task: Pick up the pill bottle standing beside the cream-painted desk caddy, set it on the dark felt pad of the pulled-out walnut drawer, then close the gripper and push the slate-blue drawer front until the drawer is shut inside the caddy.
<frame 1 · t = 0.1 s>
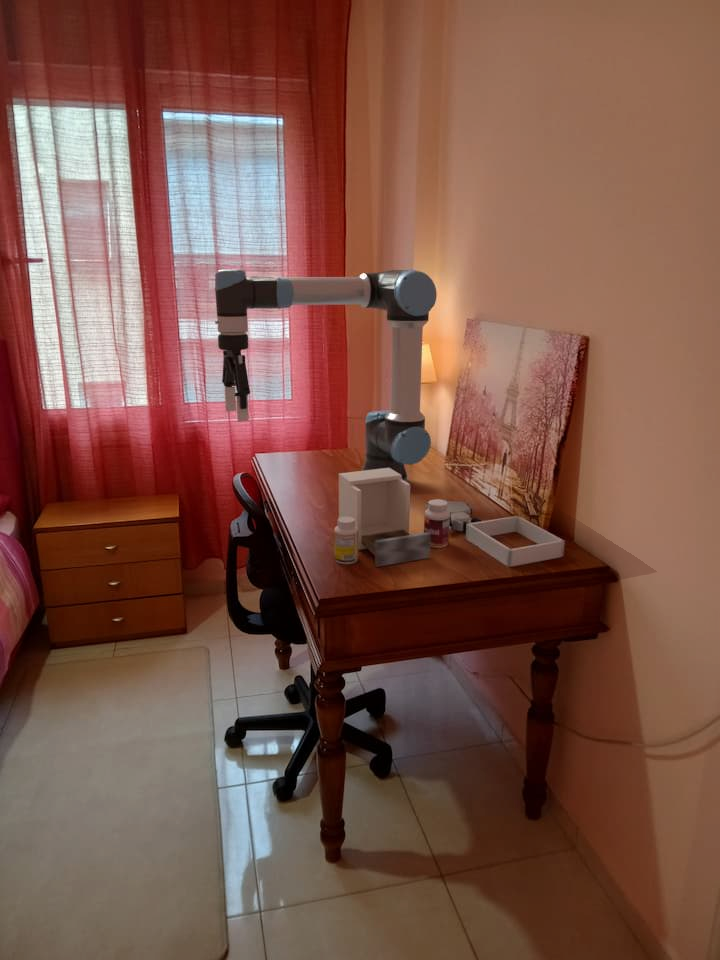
hand: (236, 416, 179), 28 cm above the table, fingers open, 13 cm apart
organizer: (512, 547, 167), on the table
pill bottle: (435, 544, 169), on the table
robot toy: (455, 525, 182), on the table
supplement bottle: (346, 561, 159), on the table
drawer: (393, 541, 162), point 3 cm above the table, slide at 10.0 cm
caddy: (373, 537, 173), on the table
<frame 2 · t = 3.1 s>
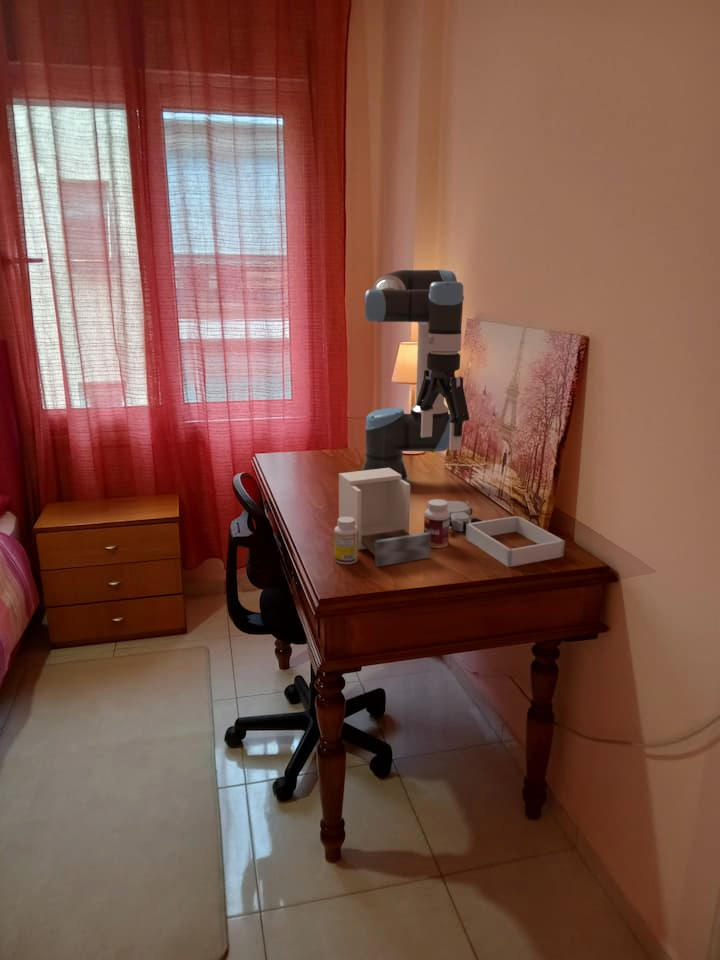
hand: (440, 443, 161), 26 cm above the table, fingers open, 13 cm apart
nothing on the table moved.
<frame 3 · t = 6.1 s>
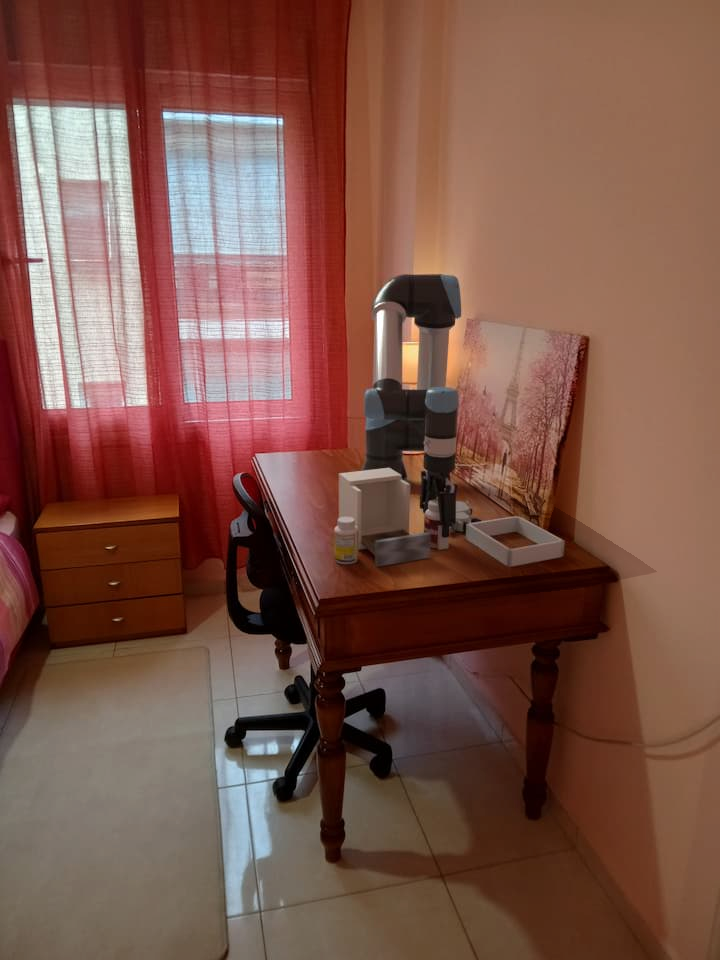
hand: (435, 543, 169), 0 cm above the table, fingers closed on pill bottle, 6 cm apart
pill bottle: (435, 545, 169), on the table, touching gripper
everything else where it was.
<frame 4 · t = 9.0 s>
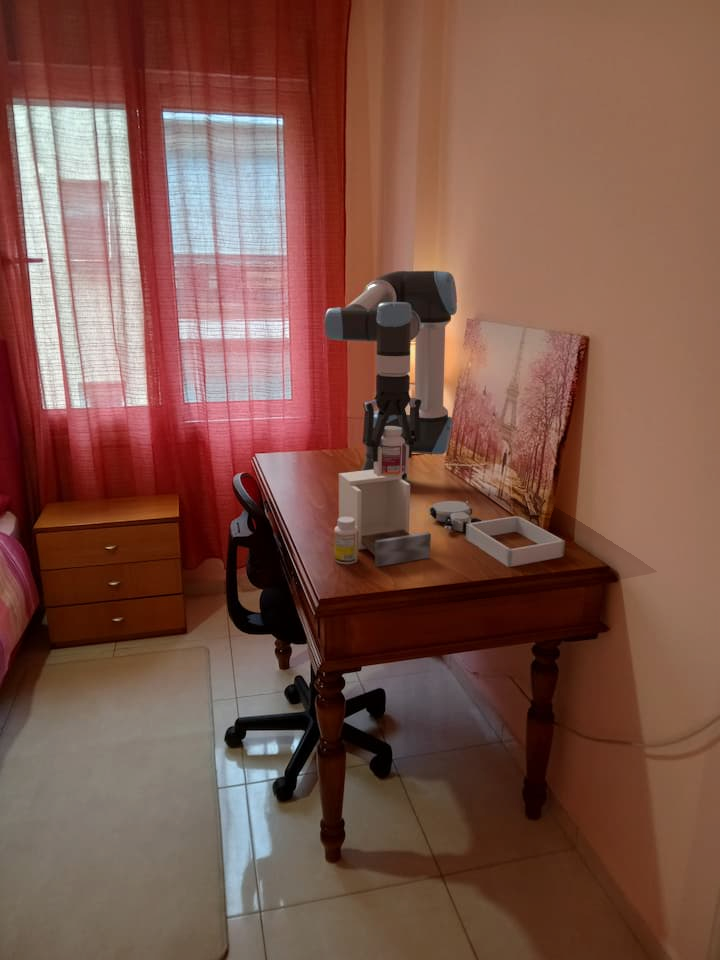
hand: (391, 472, 159), 20 cm above the table, fingers closed on pill bottle, 6 cm apart
pill bottle: (390, 474, 159), point 19 cm above the table, touching gripper
everything else where it was.
when the fingers open (4 cm above the table, at t = 11.6 s): pill bottle drops 1 cm, resting on drawer.
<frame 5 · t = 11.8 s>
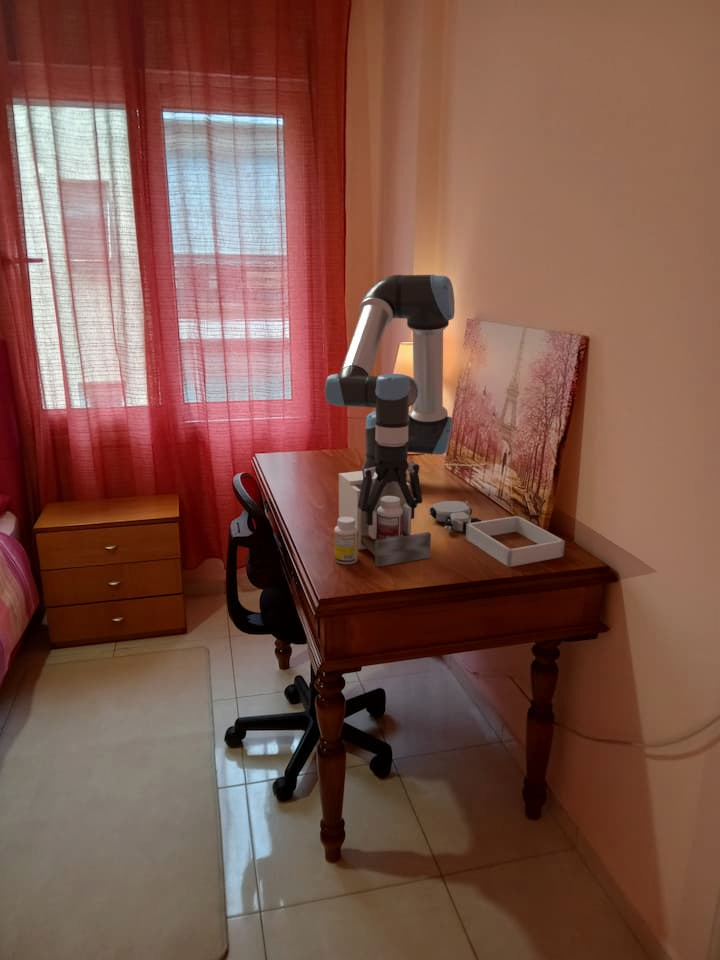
hand: (389, 534, 164), 4 cm above the table, fingers open, 8 cm apart
pill bottle: (389, 542, 164), point 2 cm above the table, touching drawer
drawer: (393, 541, 162), point 3 cm above the table, slide at 10.0 cm, touching pill bottle
everything else where it was.
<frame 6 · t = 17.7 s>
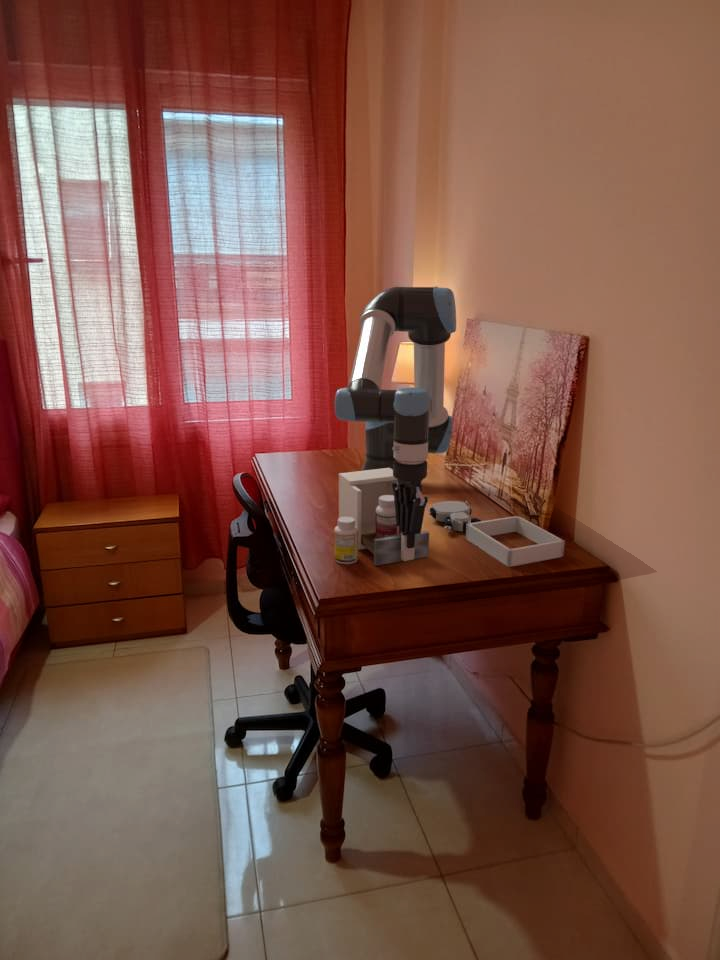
hand: (407, 558, 156), 2 cm above the table, fingers closed
drawer: (391, 539, 163), point 3 cm above the table, slide at 9.3 cm, touching gripper, pill bottle
everything else where it was.
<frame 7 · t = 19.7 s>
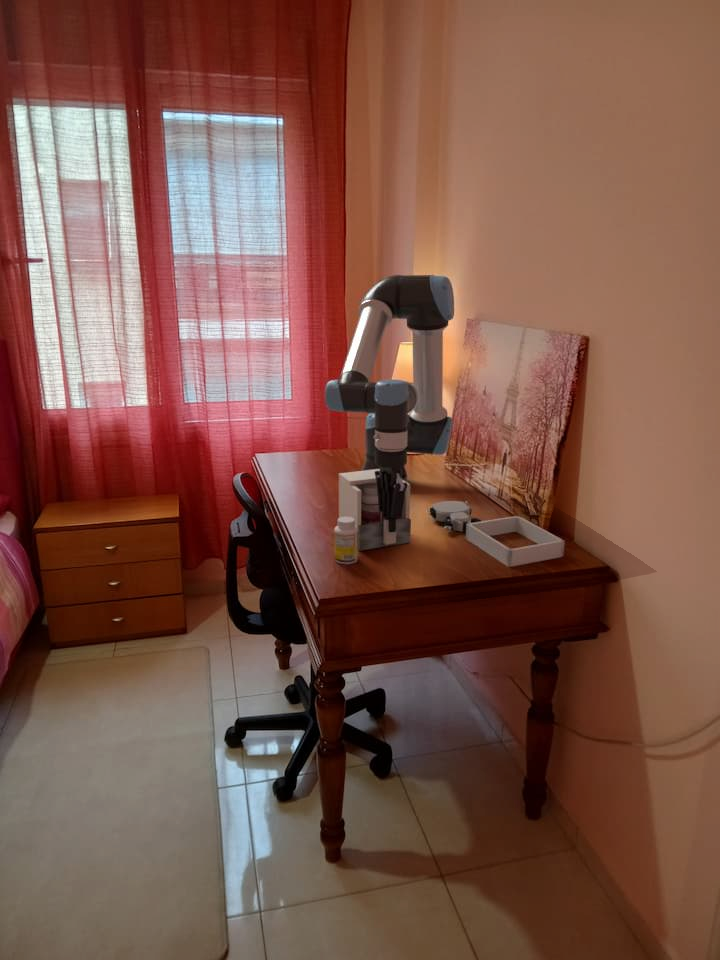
hand: (389, 542, 164), 2 cm above the table, fingers closed
pill bottle: (372, 528, 173), point 2 cm above the table, touching drawer
drawer: (375, 526, 171), point 3 cm above the table, slide at -0.1 cm, touching caddy, gripper, pill bottle
everything else where it was.
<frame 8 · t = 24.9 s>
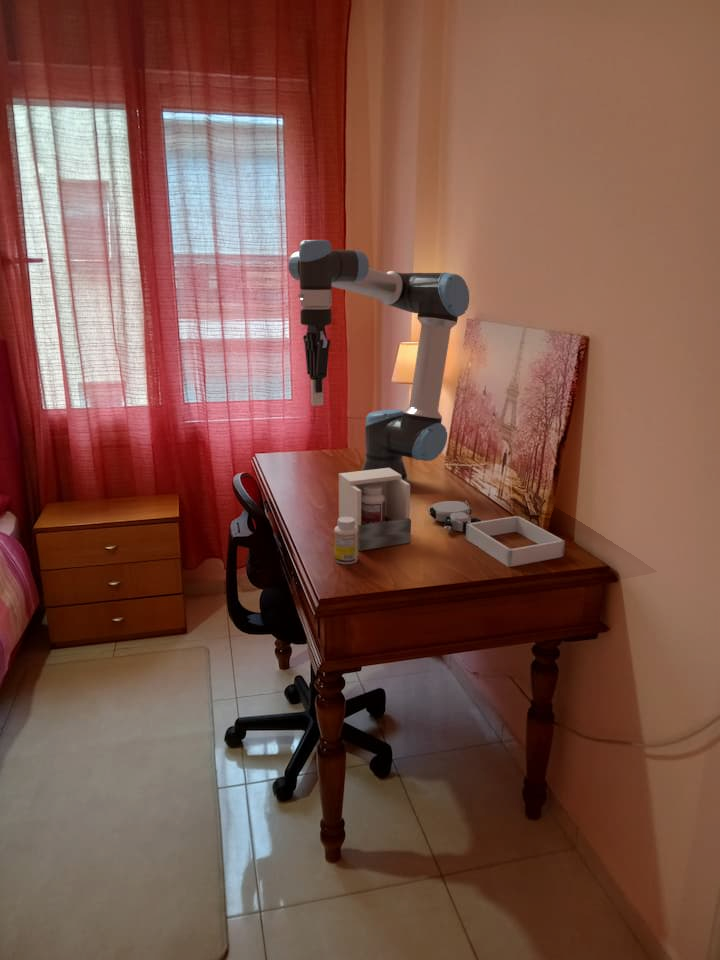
hand: (317, 404, 171), 32 cm above the table, fingers closed
drawer: (375, 526, 171), point 3 cm above the table, slide at 0.0 cm, touching pill bottle
everything else where it was.
at the end: drawer slide at 0.0 cm; pill bottle inside the target area on the caddy (0.8 cm from its centre), point 2.1 cm above the caddy's base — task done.
